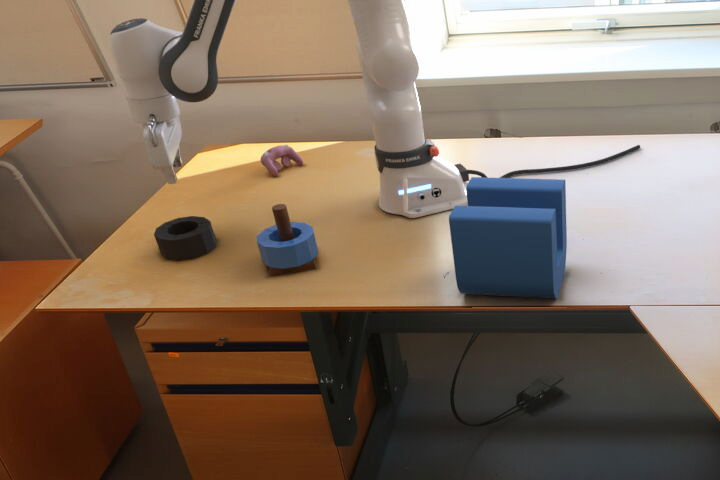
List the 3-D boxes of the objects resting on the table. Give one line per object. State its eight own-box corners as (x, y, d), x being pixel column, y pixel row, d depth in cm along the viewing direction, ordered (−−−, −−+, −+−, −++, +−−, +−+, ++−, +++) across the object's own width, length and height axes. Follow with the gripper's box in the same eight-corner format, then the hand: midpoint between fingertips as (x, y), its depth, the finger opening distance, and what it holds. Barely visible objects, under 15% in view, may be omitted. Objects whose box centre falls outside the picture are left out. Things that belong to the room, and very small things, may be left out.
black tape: (217, 232, 174) (211, 213, 172) (214, 255, 166) (207, 234, 163) (165, 240, 172) (158, 220, 169) (158, 263, 163) (151, 243, 161)
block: (554, 310, 142) (551, 220, 132) (459, 305, 145) (448, 217, 135) (567, 262, 157) (565, 178, 146) (480, 258, 159) (472, 175, 149)
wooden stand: (314, 249, 166) (301, 194, 159) (315, 268, 159) (302, 212, 152) (271, 255, 164) (256, 201, 157) (270, 275, 157) (254, 219, 150)
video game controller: (297, 167, 208) (284, 143, 206) (306, 163, 205) (293, 138, 202) (268, 180, 201) (254, 155, 199) (276, 176, 198) (262, 150, 196)
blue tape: (316, 238, 167) (311, 218, 164) (319, 262, 158) (314, 241, 155) (262, 247, 164) (256, 227, 161) (262, 272, 155) (256, 251, 153)
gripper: (165, 122, 147) (186, 191, 155) (176, 91, 163) (195, 155, 171) (129, 126, 146) (153, 195, 154) (144, 95, 162) (165, 158, 170)
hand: (175, 174), depth 163 cm, fingers open, 8 cm apart
